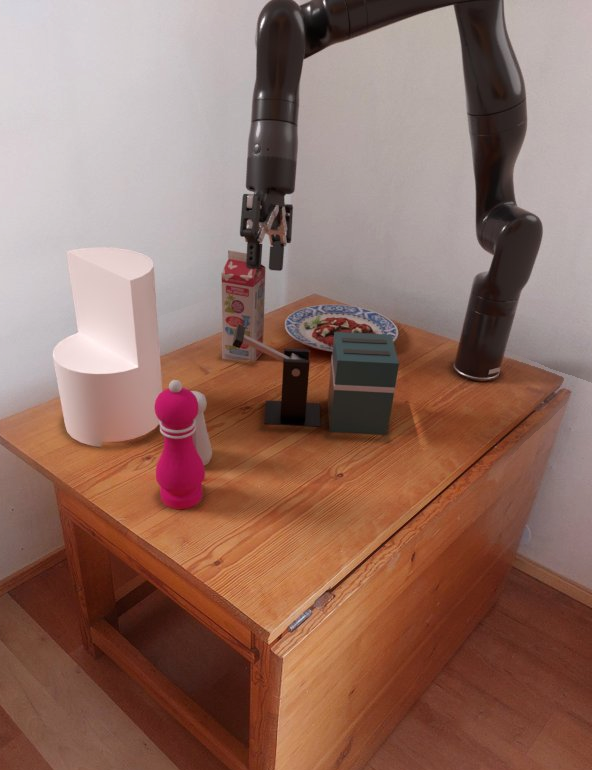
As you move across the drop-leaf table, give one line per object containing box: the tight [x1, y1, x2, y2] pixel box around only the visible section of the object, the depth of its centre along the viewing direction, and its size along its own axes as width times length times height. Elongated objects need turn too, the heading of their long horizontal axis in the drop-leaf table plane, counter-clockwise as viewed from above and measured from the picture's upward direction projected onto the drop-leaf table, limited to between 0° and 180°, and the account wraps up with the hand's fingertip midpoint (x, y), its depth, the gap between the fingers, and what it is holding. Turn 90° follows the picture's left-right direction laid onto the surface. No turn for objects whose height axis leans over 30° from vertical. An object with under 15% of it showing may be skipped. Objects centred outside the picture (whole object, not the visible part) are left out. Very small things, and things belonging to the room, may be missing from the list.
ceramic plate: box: [284, 304, 399, 353], centre depth 145 cm, size 26×26×3 cm
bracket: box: [263, 347, 322, 428], centre depth 112 cm, size 10×8×13 cm
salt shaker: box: [190, 390, 213, 467], centre depth 100 cm, size 6×6×13 cm
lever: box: [232, 324, 306, 363], centre depth 108 cm, size 13×6×2 cm, turn 90°
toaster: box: [327, 332, 400, 436], centre depth 112 cm, size 10×11×15 cm
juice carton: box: [221, 250, 266, 362], centre depth 130 cm, size 7×7×22 cm
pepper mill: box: [155, 379, 206, 510], centre depth 91 cm, size 7×7×20 cm
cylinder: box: [52, 246, 164, 448], centre depth 105 cm, size 17×17×28 cm
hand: (264, 269), depth 100 cm, fingers open, 8 cm apart
